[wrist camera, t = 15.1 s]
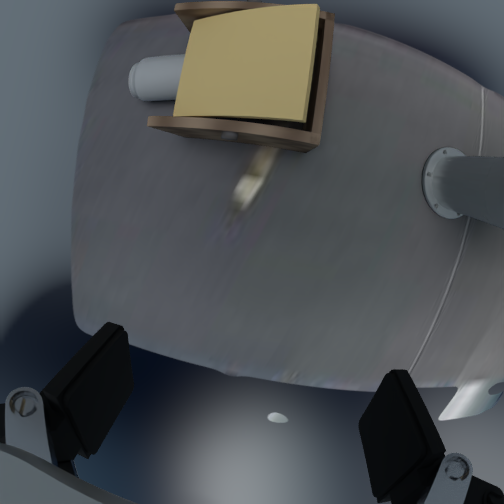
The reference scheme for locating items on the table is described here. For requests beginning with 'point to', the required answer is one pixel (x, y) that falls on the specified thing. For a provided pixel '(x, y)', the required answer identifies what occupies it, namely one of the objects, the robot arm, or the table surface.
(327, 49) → the trapdoor frame
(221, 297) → the table surface
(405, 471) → the robot arm
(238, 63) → the trapdoor flap
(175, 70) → the can
